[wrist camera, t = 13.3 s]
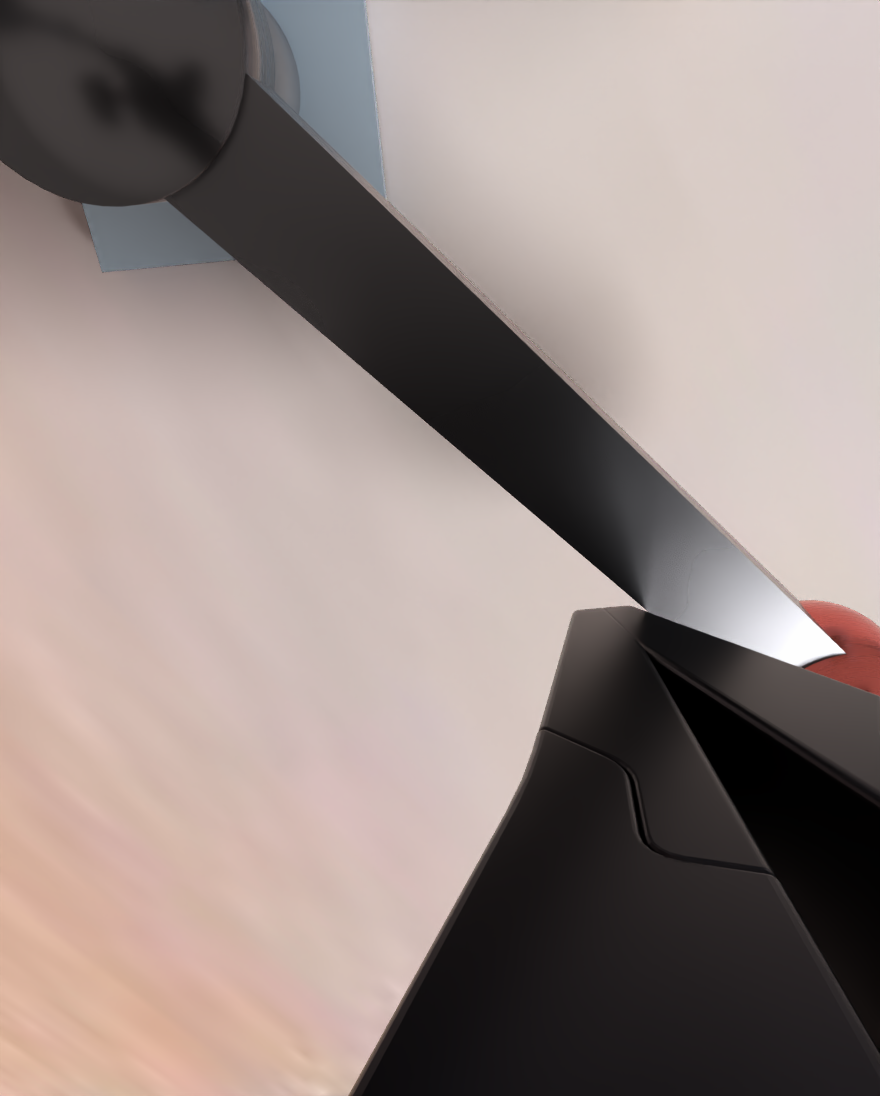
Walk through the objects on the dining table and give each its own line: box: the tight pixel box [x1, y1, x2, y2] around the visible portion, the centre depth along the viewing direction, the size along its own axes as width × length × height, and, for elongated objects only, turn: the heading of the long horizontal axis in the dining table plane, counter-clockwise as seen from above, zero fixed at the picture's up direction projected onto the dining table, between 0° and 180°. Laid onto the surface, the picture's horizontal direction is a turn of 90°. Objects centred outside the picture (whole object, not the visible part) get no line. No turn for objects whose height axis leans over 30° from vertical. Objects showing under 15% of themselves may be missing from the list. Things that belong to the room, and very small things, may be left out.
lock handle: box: [0, 0, 880, 696], centre depth 8 cm, size 13×2×2 cm, turn 47°
